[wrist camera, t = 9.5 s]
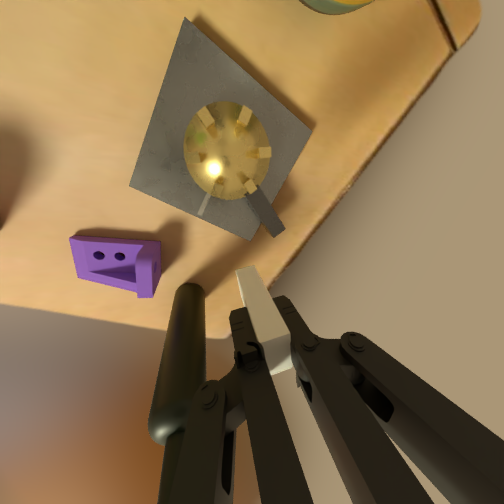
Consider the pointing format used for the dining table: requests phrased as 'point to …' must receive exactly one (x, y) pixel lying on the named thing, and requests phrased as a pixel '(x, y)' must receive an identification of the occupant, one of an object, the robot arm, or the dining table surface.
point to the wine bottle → (178, 379)
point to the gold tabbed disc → (231, 157)
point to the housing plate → (179, 116)
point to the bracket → (118, 262)
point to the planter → (335, 5)
